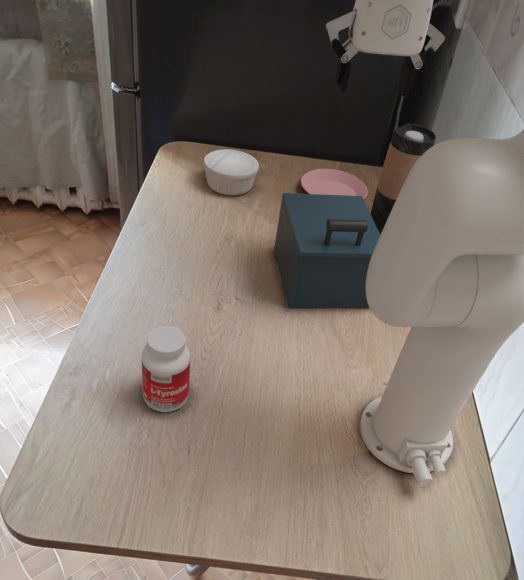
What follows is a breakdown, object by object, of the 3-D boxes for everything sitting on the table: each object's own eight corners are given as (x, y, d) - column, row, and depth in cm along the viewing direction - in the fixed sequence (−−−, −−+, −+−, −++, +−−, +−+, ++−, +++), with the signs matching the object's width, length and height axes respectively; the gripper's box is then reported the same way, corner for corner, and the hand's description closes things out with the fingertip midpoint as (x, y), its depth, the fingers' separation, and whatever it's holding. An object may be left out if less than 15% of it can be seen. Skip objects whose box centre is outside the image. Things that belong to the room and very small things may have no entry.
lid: (388, 258, 87) (397, 230, 84) (299, 256, 85) (305, 228, 81) (360, 199, 99) (367, 173, 95) (282, 197, 96) (286, 170, 93)
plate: (288, 180, 123) (289, 172, 122) (343, 173, 128) (345, 165, 127) (319, 216, 114) (321, 207, 113) (378, 207, 120) (380, 198, 118)
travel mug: (403, 243, 111) (437, 146, 97) (364, 235, 111) (393, 137, 97) (404, 223, 116) (436, 128, 102) (367, 215, 117) (394, 119, 103)
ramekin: (200, 171, 122) (201, 147, 118) (251, 172, 124) (253, 149, 120) (205, 198, 114) (207, 174, 110) (260, 199, 116) (263, 175, 113)
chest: (368, 308, 96) (386, 255, 88) (287, 308, 93) (298, 253, 85) (346, 252, 107) (360, 200, 99) (273, 250, 104) (282, 197, 96)
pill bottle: (146, 417, 74) (144, 359, 67) (139, 382, 78) (136, 324, 71) (193, 409, 76) (196, 352, 68) (184, 376, 80) (185, 318, 72)
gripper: (347, -46, 69) (321, 97, 81) (477, -31, 72) (433, 105, 84) (334, -59, 74) (311, 77, 86) (456, -44, 77) (417, 85, 89)
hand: (371, 90), depth 85 cm, fingers open, 9 cm apart
